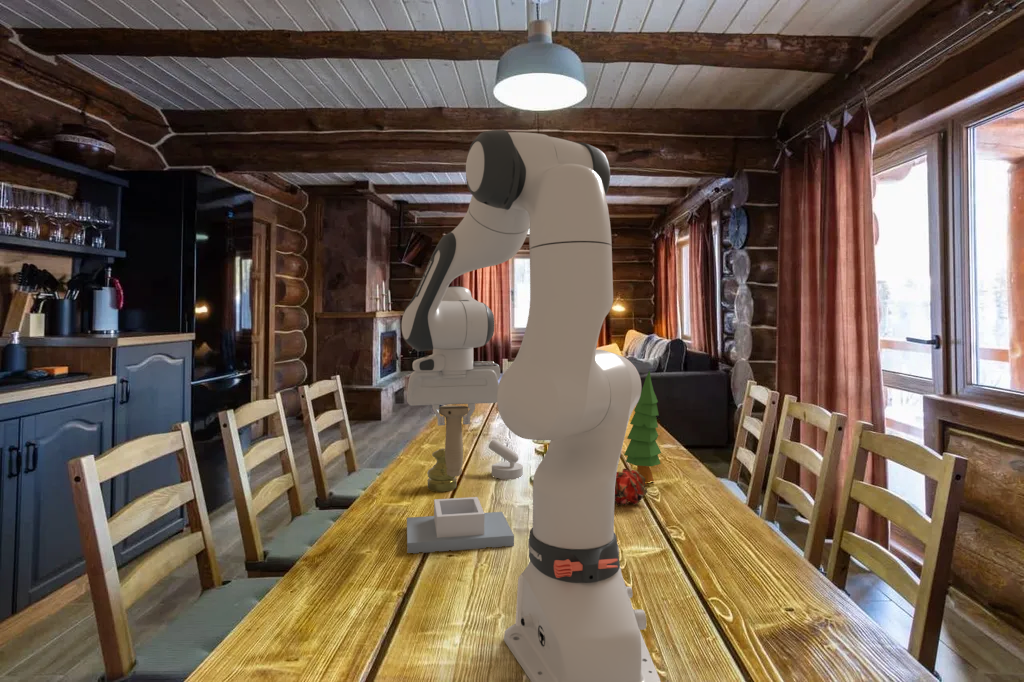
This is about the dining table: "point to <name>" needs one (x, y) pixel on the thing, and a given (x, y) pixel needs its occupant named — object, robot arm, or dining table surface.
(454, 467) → the handle
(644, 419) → the decorative tree
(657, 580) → the dining table surface
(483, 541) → the grey base with socket
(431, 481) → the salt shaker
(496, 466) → the wall hook
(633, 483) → the dragon fruit
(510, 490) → the dining table surface
